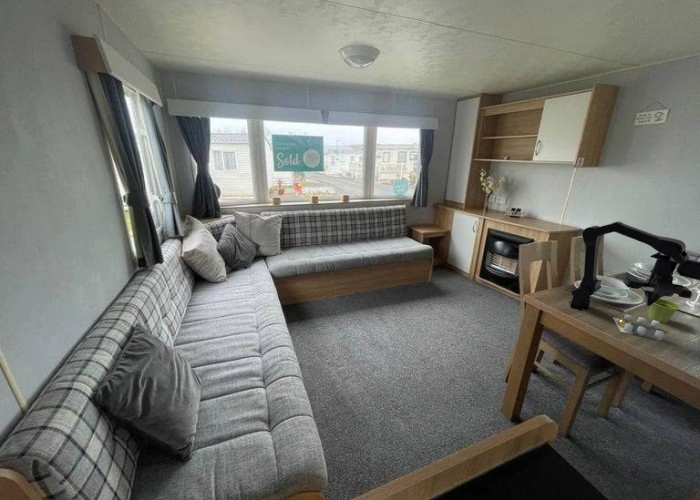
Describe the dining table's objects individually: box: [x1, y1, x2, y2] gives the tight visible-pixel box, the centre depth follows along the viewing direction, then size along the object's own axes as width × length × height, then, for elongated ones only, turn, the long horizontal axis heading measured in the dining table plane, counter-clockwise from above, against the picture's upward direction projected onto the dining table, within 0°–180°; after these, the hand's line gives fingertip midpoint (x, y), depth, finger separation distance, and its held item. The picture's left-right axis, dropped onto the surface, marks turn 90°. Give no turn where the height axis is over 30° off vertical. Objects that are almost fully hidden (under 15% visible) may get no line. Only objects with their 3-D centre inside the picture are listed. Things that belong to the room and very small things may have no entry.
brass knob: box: [616, 317, 633, 328], centre depth 124 cm, size 4×4×3 cm
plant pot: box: [648, 298, 681, 324], centre depth 129 cm, size 9×9×9 cm
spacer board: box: [612, 313, 666, 343], centre depth 122 cm, size 15×12×4 cm
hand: (648, 305), depth 119 cm, fingers closed
